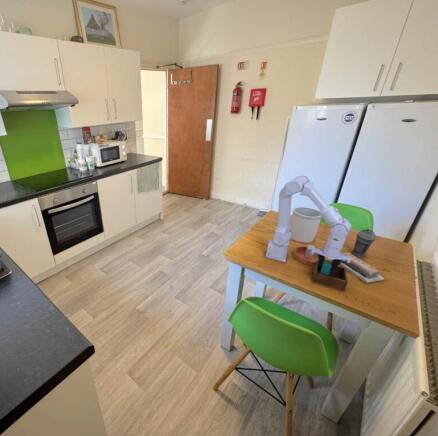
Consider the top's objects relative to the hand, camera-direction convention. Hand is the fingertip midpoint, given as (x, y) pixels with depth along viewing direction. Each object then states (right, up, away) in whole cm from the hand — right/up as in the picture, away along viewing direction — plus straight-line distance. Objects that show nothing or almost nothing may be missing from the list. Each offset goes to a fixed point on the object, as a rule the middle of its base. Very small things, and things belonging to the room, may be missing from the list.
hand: (324, 269), depth 112 cm
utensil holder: (+9, +13, +32) cm, 36 cm away
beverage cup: (+29, +4, +15) cm, 32 cm away
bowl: (+1, +3, +14) cm, 14 cm away
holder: (+1, -5, -1) cm, 5 cm away
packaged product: (+19, -1, +5) cm, 19 cm away
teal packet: (0, -1, 0) cm, 1 cm away
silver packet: (+3, +4, +15) cm, 16 cm away
